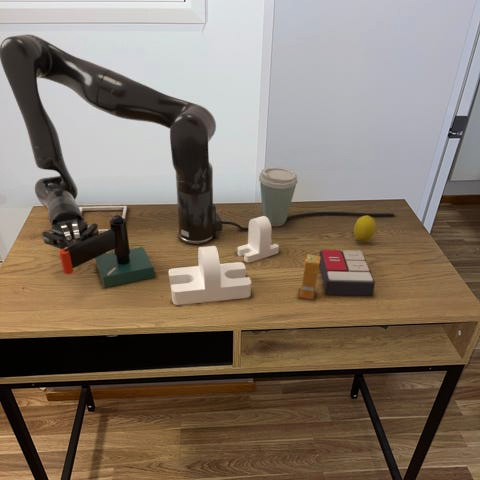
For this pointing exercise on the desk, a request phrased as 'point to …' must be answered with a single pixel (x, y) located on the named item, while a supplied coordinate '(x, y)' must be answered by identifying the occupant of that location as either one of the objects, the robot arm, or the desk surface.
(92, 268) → the desk surface
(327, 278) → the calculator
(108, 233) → the black l-shaped bar
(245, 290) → the white slotted bracket
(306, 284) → the supplement box
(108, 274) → the stand
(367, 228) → the lemon
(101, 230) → the photo frame
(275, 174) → the disposable coffee cup
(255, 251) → the cable organizer
